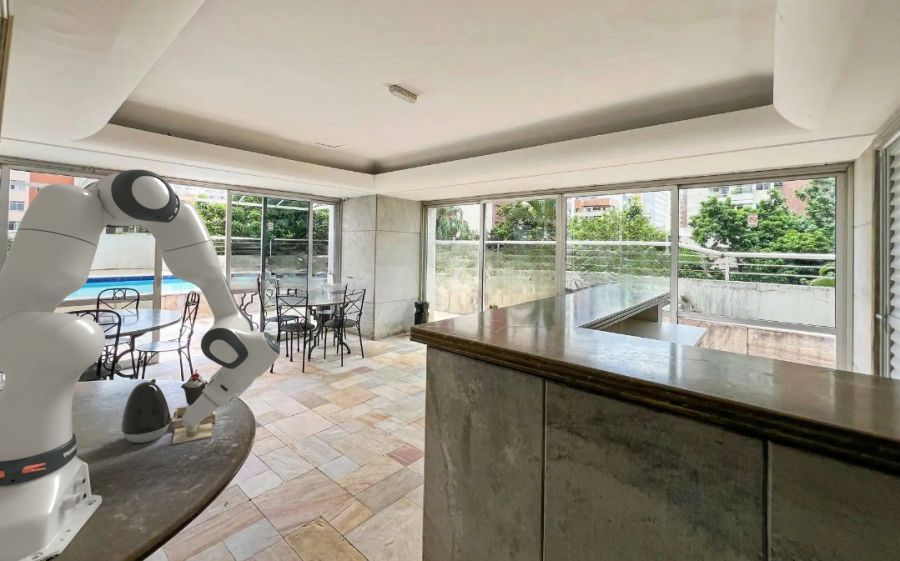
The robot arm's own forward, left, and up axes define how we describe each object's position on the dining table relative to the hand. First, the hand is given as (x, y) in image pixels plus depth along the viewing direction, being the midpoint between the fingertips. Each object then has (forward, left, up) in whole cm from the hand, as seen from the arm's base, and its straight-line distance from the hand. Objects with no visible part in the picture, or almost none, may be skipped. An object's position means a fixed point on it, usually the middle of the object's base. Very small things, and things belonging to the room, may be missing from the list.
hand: (189, 420), depth 103 cm
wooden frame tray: (+7, -1, -5) cm, 8 cm away
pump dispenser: (+5, +10, -5) cm, 12 cm away
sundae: (+14, -1, -5) cm, 15 cm away
